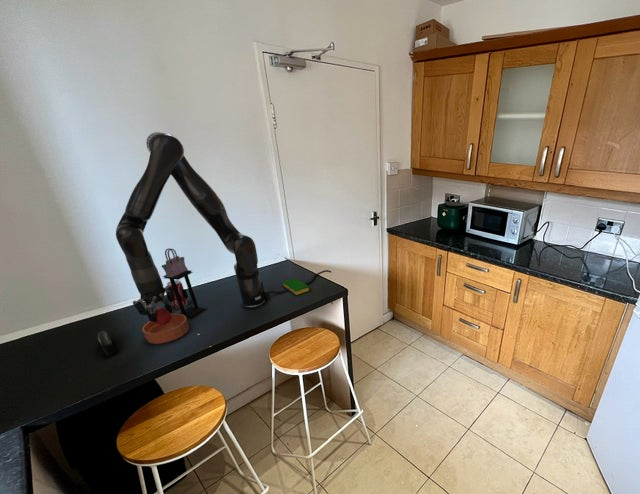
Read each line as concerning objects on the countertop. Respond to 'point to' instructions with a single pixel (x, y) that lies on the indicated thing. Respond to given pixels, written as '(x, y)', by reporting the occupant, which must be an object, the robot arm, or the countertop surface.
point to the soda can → (179, 287)
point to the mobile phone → (106, 343)
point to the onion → (162, 316)
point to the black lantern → (177, 271)
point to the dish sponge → (296, 286)
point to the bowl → (166, 329)
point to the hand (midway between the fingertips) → (162, 317)
